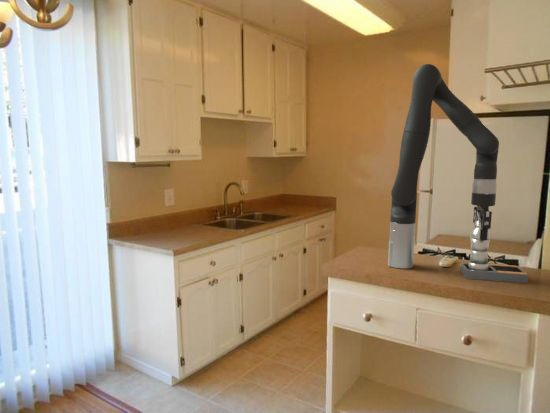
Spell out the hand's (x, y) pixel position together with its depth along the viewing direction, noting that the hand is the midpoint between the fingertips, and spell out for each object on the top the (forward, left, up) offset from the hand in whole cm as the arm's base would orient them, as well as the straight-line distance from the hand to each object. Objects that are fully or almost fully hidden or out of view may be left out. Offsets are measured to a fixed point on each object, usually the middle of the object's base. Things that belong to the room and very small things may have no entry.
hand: (480, 237), depth 141 cm
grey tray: (+5, 0, -14) cm, 15 cm away
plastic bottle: (0, 0, -14) cm, 14 cm away
